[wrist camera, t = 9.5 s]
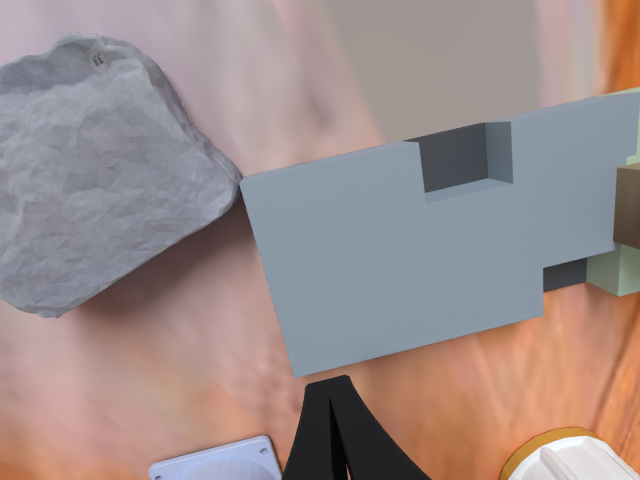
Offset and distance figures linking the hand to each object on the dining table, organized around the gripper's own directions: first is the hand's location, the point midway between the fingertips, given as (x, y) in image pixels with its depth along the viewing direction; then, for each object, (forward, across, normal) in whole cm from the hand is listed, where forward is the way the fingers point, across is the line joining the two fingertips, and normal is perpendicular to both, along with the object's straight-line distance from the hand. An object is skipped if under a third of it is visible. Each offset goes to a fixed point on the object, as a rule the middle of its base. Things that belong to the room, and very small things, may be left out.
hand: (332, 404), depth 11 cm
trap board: (+10, -9, -1) cm, 13 cm away
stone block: (+10, +9, -8) cm, 16 cm away
